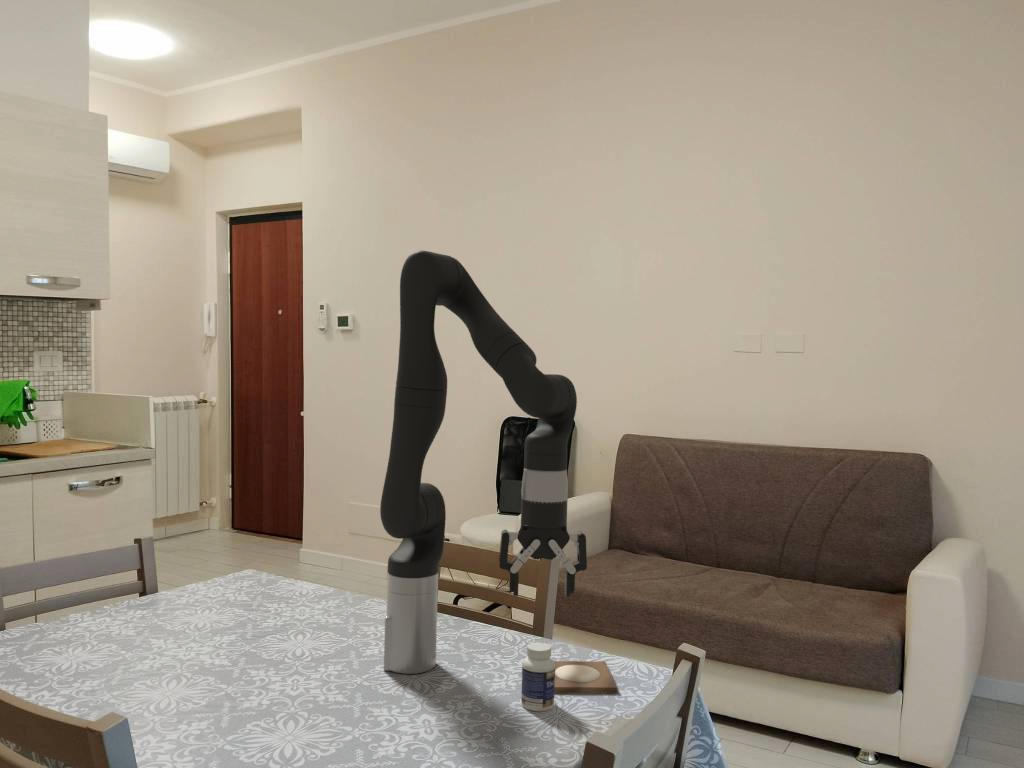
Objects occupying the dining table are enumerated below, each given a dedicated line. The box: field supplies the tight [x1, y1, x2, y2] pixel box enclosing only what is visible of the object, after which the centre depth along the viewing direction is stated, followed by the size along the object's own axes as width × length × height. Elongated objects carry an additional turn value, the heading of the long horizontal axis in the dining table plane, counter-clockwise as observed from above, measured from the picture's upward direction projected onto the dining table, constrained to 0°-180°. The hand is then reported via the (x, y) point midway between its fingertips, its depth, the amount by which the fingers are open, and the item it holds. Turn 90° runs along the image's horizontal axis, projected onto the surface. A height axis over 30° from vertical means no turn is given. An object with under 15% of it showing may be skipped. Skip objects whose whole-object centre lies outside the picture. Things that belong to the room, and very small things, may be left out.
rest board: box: [553, 660, 618, 694], centre depth 142 cm, size 12×12×1 cm
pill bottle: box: [520, 642, 555, 712], centre depth 131 cm, size 5×5×10 cm
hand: (541, 595), depth 131 cm, fingers open, 8 cm apart
